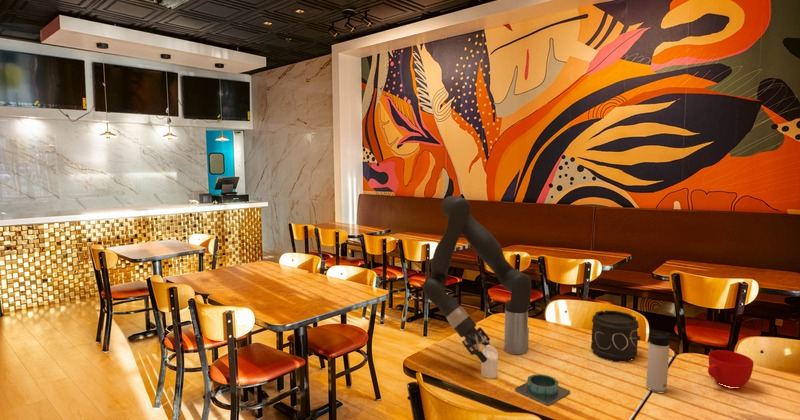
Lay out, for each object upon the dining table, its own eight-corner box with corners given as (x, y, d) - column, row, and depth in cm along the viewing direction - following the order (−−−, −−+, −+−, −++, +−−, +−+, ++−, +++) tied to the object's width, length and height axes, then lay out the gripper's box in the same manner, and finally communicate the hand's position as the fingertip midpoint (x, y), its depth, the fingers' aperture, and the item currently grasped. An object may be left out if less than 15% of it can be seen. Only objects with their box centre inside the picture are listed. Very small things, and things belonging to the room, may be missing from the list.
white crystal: (496, 340, 179) (500, 346, 174) (495, 371, 181) (499, 378, 175) (480, 341, 179) (483, 347, 174) (479, 372, 180) (482, 379, 175)
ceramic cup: (690, 382, 172) (692, 355, 171) (722, 373, 178) (724, 347, 177) (726, 398, 160) (729, 370, 159) (760, 389, 166) (762, 361, 165)
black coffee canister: (639, 366, 185) (642, 327, 183) (589, 358, 192) (591, 320, 190) (638, 349, 201) (640, 312, 199) (592, 342, 208) (593, 307, 207)
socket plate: (537, 379, 174) (537, 369, 174) (570, 393, 164) (570, 382, 164) (515, 391, 166) (515, 379, 165) (547, 406, 156) (548, 394, 155)
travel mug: (670, 394, 163) (673, 337, 161) (649, 392, 164) (652, 336, 162) (664, 386, 169) (667, 330, 167) (643, 384, 170) (646, 329, 168)
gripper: (460, 321, 174) (489, 358, 169) (475, 310, 186) (503, 345, 181) (446, 332, 177) (475, 369, 173) (462, 321, 189) (489, 355, 185)
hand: (489, 357), depth 177 cm, fingers open, 8 cm apart
